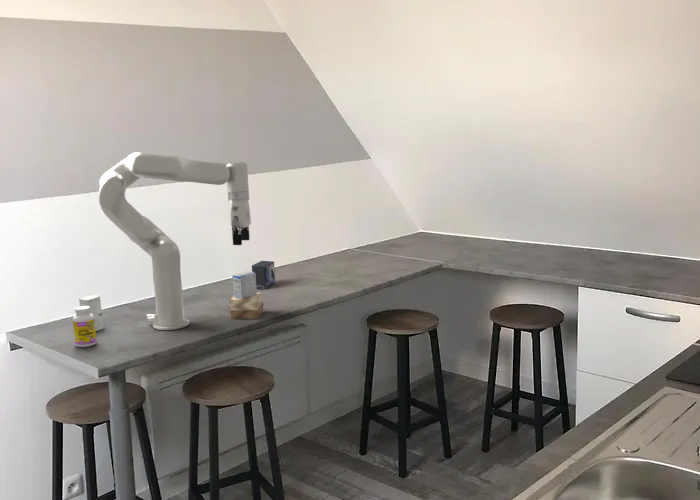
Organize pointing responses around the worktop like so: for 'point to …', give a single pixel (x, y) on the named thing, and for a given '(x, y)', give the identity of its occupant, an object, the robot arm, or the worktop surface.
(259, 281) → the small box
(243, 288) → the medicine box
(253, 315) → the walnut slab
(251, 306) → the birch slab
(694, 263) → the worktop surface
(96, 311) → the skincare box
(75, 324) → the supplement bottle
